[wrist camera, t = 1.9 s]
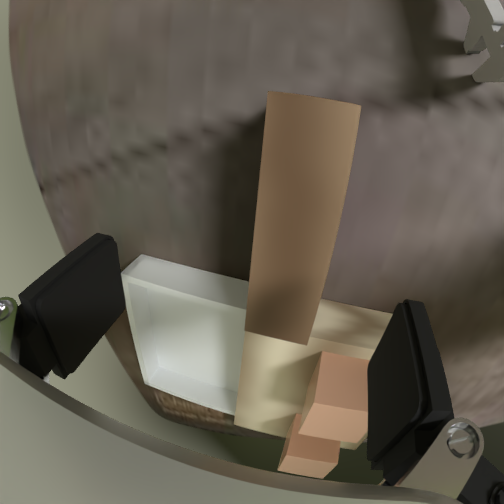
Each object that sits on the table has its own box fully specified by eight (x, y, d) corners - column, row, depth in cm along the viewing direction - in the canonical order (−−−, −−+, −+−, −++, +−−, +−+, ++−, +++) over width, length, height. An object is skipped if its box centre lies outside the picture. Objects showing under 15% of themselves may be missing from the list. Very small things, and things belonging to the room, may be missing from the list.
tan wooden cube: (343, 422, 21) (337, 463, 18) (328, 441, 24) (322, 478, 20) (296, 413, 22) (286, 454, 19) (287, 433, 24) (277, 470, 21)
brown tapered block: (353, 103, 15) (361, 105, 10) (318, 283, 21) (307, 345, 16) (291, 93, 15) (268, 91, 10) (268, 273, 22) (244, 330, 16)
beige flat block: (419, 319, 20) (427, 358, 16) (358, 417, 27) (355, 449, 23) (262, 284, 22) (246, 321, 19) (245, 393, 29) (233, 424, 26)
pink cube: (381, 362, 17) (382, 413, 14) (360, 396, 19) (356, 443, 16) (322, 350, 18) (313, 402, 15) (307, 386, 20) (298, 433, 17)
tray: (262, 284, 22) (250, 310, 19) (245, 393, 29) (236, 416, 26) (141, 253, 24) (120, 273, 21) (157, 364, 31) (144, 383, 28)
